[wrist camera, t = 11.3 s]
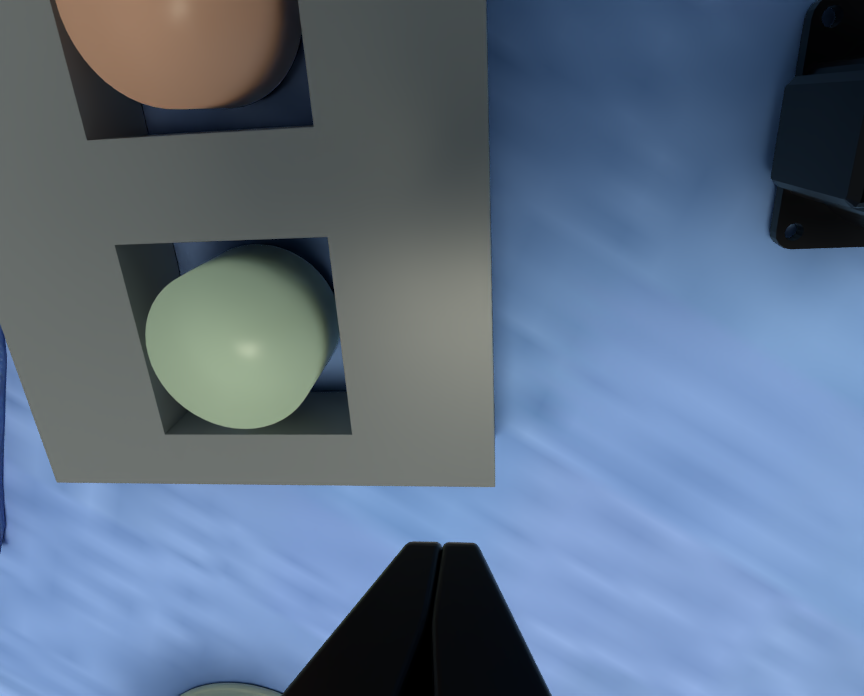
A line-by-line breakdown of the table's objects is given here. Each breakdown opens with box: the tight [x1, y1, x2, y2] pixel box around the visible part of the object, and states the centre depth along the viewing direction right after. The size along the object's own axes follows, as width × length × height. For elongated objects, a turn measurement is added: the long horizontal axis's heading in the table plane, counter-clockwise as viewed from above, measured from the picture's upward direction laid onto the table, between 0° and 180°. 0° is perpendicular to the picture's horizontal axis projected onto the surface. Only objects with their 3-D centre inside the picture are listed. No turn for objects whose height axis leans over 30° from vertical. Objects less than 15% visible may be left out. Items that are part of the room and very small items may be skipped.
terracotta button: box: [55, 0, 302, 109], centre depth 15 cm, size 5×5×3 cm
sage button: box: [145, 244, 340, 429], centre depth 18 cm, size 5×5×3 cm
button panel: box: [0, 0, 495, 487], centre depth 15 cm, size 15×28×3 cm, turn 3°
